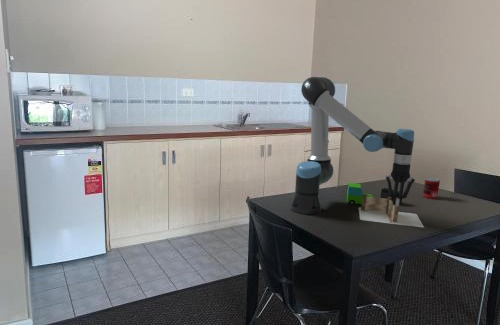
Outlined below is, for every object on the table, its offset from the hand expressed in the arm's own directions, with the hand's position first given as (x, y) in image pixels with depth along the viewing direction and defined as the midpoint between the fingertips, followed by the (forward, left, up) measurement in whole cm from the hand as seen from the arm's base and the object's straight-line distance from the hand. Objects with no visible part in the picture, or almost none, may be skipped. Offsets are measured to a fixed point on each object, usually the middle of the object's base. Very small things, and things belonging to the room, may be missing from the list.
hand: (395, 211), depth 185 cm
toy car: (-15, +21, -5) cm, 26 cm away
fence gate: (-1, +1, -3) cm, 4 cm away
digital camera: (+1, +29, -5) cm, 29 cm away
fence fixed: (-8, +9, -4) cm, 13 cm away
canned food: (+26, +50, -5) cm, 56 cm away
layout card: (-2, +3, -4) cm, 6 cm away
